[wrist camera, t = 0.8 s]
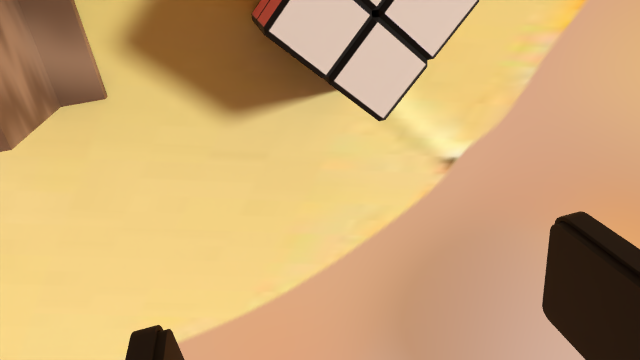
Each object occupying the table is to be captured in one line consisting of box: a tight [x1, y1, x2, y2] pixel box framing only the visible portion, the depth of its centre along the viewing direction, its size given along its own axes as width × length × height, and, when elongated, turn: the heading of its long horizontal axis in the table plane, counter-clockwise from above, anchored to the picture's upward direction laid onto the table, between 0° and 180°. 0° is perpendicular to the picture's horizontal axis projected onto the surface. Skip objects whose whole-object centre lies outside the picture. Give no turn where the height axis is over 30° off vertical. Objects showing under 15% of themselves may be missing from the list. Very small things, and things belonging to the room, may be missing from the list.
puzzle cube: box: [252, 0, 479, 121], centre depth 31 cm, size 10×10×10 cm
